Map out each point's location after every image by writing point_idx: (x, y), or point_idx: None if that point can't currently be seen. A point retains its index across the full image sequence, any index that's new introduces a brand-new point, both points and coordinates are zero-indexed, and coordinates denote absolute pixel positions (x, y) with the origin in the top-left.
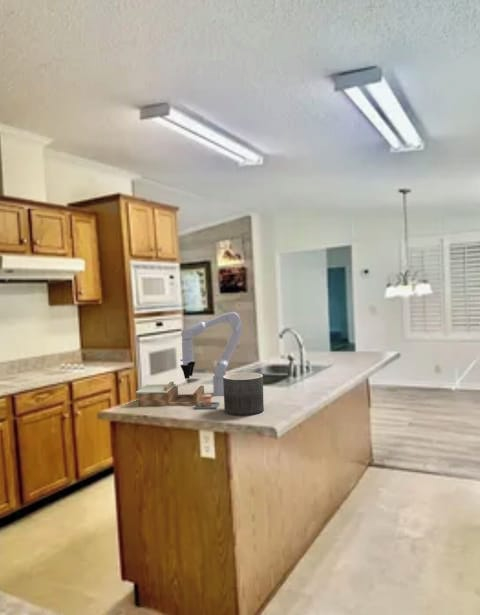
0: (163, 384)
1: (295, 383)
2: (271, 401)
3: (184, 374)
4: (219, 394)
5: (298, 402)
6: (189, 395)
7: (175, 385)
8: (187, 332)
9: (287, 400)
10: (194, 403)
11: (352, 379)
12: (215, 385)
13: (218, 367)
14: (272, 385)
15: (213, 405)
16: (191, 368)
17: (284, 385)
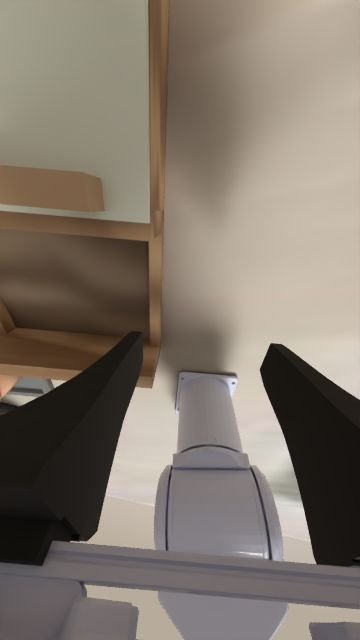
0: (139, 23)
1: (291, 500)
2: (112, 464)
3: (111, 355)
4: (180, 393)
5: (108, 485)
6: (150, 299)
7: (136, 221)
8: None
9: (123, 478)
10: (2, 333)
11: (283, 535)
12: (184, 416)
13: (155, 548)
14: (290, 477)
15: (20, 382)
16: (295, 436)
17: (278, 489)
